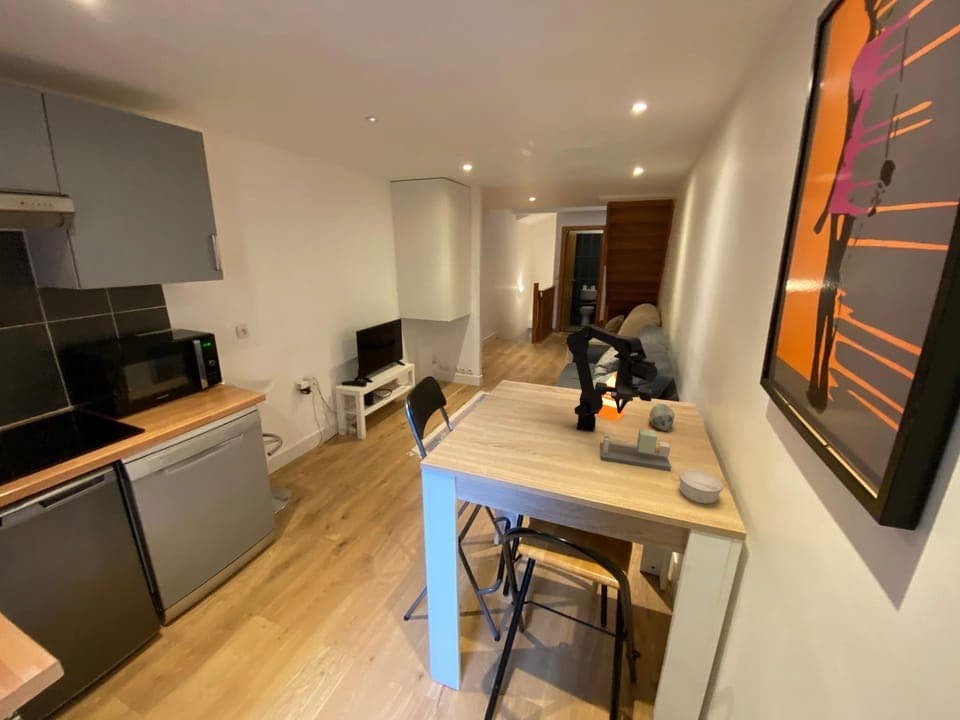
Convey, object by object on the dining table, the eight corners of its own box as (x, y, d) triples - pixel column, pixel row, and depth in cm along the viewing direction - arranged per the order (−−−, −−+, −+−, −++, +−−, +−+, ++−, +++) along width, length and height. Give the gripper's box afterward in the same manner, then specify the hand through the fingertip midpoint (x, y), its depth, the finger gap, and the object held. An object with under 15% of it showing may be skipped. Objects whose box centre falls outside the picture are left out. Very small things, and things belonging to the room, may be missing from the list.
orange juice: (598, 415, 164) (603, 372, 159) (606, 409, 171) (612, 367, 165) (616, 421, 159) (622, 376, 154) (624, 414, 166) (630, 371, 160)
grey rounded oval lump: (678, 428, 146) (669, 403, 148) (653, 434, 151) (644, 410, 152) (678, 423, 159) (669, 400, 160) (654, 428, 163) (646, 406, 164)
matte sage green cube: (638, 451, 128) (641, 434, 126) (636, 445, 132) (639, 428, 130) (654, 454, 127) (657, 436, 125) (652, 447, 131) (655, 430, 129)
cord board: (600, 460, 129) (602, 442, 128) (599, 446, 139) (601, 429, 137) (670, 471, 124) (673, 452, 122) (664, 455, 133) (668, 438, 131)
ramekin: (688, 506, 107) (692, 490, 105) (669, 483, 118) (672, 468, 116) (728, 507, 107) (732, 491, 105) (705, 483, 118) (708, 468, 116)
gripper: (597, 376, 127) (591, 418, 132) (657, 384, 122) (649, 427, 127) (597, 366, 137) (592, 405, 142) (653, 373, 132) (645, 413, 137)
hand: (618, 413), depth 137 cm, fingers closed
